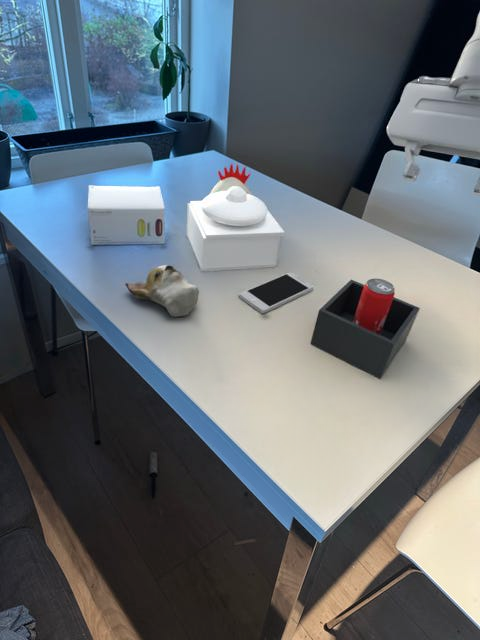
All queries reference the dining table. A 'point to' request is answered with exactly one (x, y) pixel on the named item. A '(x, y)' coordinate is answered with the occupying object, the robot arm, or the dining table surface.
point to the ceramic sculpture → (167, 290)
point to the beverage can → (374, 304)
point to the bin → (361, 331)
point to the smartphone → (276, 292)
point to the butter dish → (232, 232)
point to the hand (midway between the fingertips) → (442, 186)
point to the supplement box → (126, 215)
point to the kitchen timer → (232, 180)
